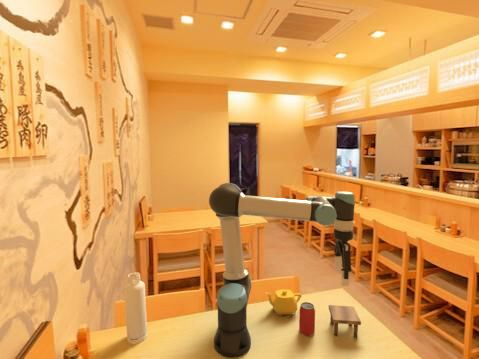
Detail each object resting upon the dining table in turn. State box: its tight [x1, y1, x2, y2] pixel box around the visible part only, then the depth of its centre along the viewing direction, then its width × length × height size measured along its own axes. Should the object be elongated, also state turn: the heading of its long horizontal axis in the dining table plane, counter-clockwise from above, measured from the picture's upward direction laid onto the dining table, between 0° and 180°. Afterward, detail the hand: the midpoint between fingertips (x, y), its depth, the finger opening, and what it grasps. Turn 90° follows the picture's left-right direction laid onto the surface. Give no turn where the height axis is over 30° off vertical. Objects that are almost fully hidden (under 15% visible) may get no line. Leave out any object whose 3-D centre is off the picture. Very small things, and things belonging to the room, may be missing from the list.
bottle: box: [123, 271, 148, 345], centre depth 116 cm, size 8×8×28 cm
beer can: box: [298, 301, 316, 337], centre depth 120 cm, size 7×7×12 cm
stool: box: [328, 304, 362, 339], centre depth 121 cm, size 11×11×8 cm
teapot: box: [265, 289, 302, 317], centre depth 135 cm, size 18×11×11 cm, turn 95°
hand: (341, 277), depth 117 cm, fingers open, 13 cm apart
